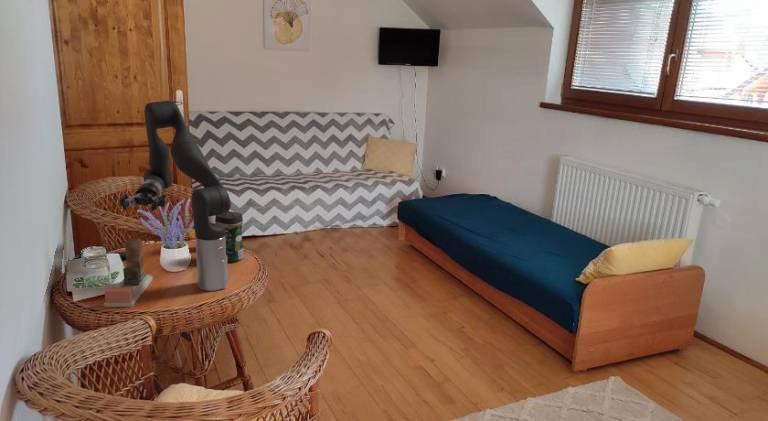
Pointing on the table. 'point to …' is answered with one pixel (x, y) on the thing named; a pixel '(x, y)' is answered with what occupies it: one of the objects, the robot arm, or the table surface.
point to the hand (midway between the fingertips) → (139, 208)
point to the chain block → (134, 262)
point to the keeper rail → (125, 293)
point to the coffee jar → (232, 234)
